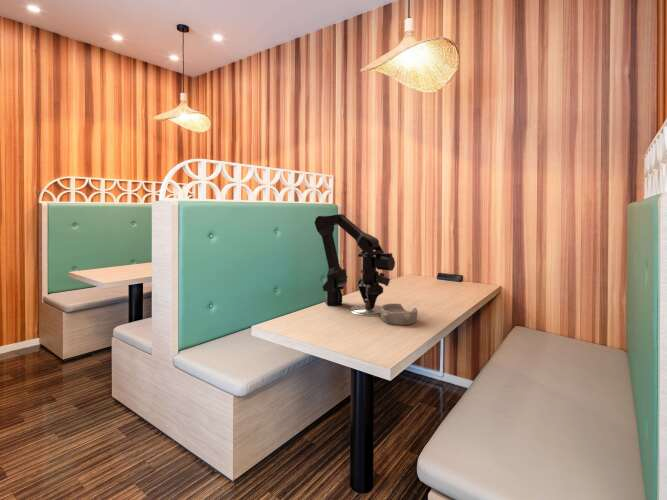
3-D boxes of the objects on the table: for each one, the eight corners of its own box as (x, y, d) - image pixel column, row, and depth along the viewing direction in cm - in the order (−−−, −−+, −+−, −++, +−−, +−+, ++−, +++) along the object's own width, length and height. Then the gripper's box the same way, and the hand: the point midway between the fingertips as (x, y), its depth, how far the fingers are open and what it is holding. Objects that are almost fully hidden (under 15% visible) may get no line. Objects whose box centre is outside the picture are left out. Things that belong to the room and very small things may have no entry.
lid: (355, 318, 145) (355, 304, 145) (345, 307, 161) (345, 295, 160) (394, 316, 148) (394, 302, 148) (380, 306, 164) (381, 293, 163)
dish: (388, 313, 151) (388, 301, 151) (422, 318, 144) (422, 306, 144) (373, 322, 139) (373, 309, 138) (409, 329, 132) (410, 315, 131)
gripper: (396, 271, 145) (395, 310, 147) (380, 264, 164) (380, 299, 165) (368, 272, 143) (368, 312, 145) (356, 265, 161) (355, 300, 163)
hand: (368, 305), depth 154 cm, fingers open, 9 cm apart
